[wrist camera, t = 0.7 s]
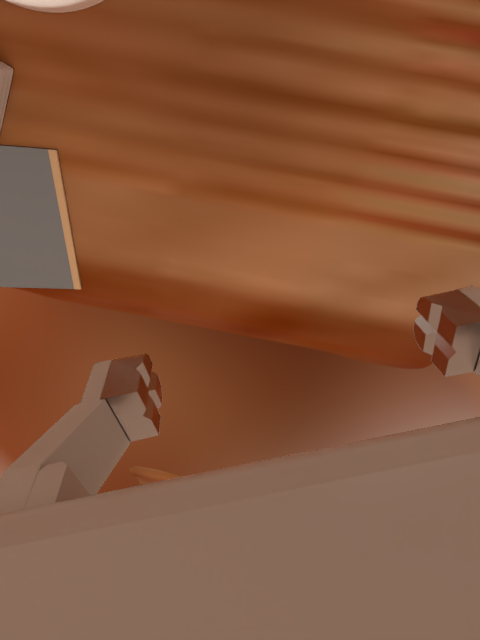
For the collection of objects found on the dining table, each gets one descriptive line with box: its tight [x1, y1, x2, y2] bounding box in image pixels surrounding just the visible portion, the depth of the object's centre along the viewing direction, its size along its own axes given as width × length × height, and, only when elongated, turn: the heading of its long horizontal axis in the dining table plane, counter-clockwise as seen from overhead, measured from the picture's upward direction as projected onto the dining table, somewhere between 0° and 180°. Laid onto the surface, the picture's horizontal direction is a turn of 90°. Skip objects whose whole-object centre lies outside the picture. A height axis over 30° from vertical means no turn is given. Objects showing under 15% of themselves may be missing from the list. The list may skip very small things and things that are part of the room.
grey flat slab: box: [0, 145, 82, 289], centre depth 49 cm, size 20×16×1 cm
